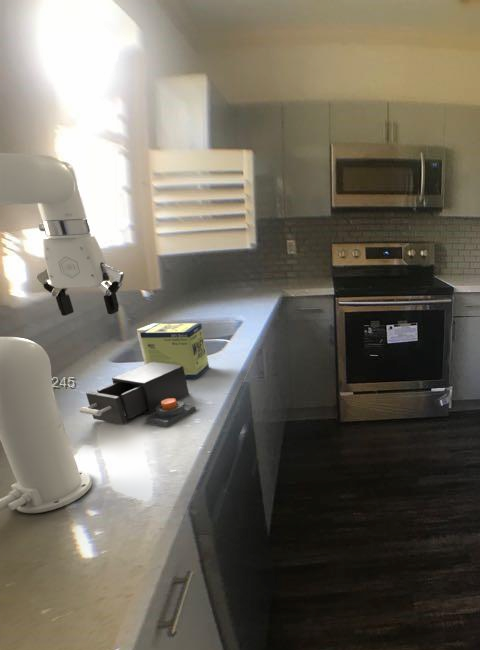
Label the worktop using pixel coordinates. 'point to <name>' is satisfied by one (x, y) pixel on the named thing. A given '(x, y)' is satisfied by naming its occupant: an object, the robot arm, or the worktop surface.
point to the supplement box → (141, 339)
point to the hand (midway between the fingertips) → (90, 313)
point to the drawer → (116, 402)
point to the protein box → (177, 347)
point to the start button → (169, 403)
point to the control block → (170, 414)
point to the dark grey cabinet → (157, 382)
